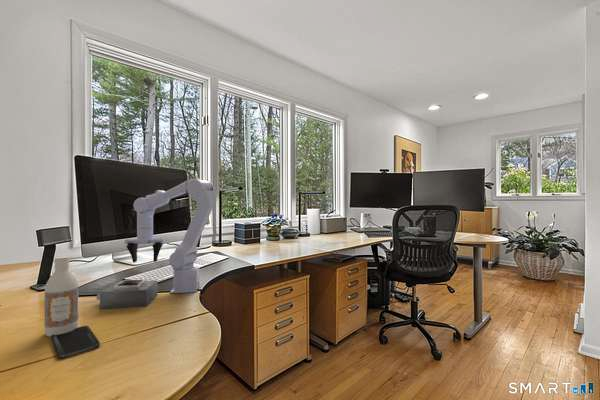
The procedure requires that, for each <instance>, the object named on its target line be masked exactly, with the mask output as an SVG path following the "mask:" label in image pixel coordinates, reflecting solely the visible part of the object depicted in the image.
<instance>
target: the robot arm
mask: <svg viewBox="0 0 600 400" xmlns="http://www.w3.org/2000/svg"><path fill="white" fill-rule="evenodd" d="M214 192H215V188H214V186H213V183H212V182H211V181H210V180H208V179H197V178H191V179H189V180H185V181H183V182H182V183H180V184H177V186H176V185H175V186H174V187H172V188H170V189H168V190H166V191H165V190H164V189H163V190H160V189H157V190H155V193H152V194H147V195H145V197H138V198H137V199H135V200H134V202H133V205H132V206H133V210H134V211H135V212H136V238H125V239H124V245H126V248H127V250H128V252H129V254H130V257H131V260H132V263H137V261H138V247H139V246H138V245H141V244H147V245H148V244H152V249H153V251H152V252H153V259H152V260H153V262H154V263H156V262H158V258H159V255H160V251H161V249H162V247H163V245H164V244H165V243H166V238H165V237H154V215H155V211H156V209H158V208H161V207H163V206H165V205H168V204H169V202H170V200H171V199H174V198H177V197H179V196H183V195H185V194H189V196H190V197H191V198H192V200H194V201H195V204H196V205H197V206H196V209H195V211H194V213H193V217H192V219H191V220H190V223H189V225H188V228H187V230H186V233H185V235H184V237H183V239H182V241H181V243H180V244H178V246H176V248H175V249H174V252H172V253H170V256H169V257H168V261H169V265H170V266H171V267H172V270H173V276H172V277H173V279H172V280H173V285H172V286H173V288H172V289H171V290H170V291H169V293H170V294H184V293H185V294H186V293H187V294H188V293H196V292H197V291H198V290H199V288H200V287H201V286H200V285H201V283H200V282H201V281H200V277H201V276H200V267H199V266H195V262H196V260H197V258H198V257H197V256H198V254H197V253H198V251H199V248H198V247H197V245H198V243H199V241H200V238H201V236H202V234H203V231H204V229H205V226H206V225H207V222H208V219H209V217H210V215H211V213H212V210H213V208H214V205H215V204H214ZM198 287H199V288H198ZM197 289H198V290H197Z"/></svg>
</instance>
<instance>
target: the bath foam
mask: <svg viewBox="0 0 600 400" xmlns="http://www.w3.org/2000/svg"><path fill="white" fill-rule="evenodd" d="M69 268H70V256H67V255H66V256H65V255H63V256H56V257H55V258H54V272H53V273H52V275H50V277H49V279H48V280H47V281H46V284H45V286H44V287H45V288H44V334H45V336H47V337H50V338H51V336H52V335H59V334H64V333H67V332H70V331H72V330H74V329H75V328H78V327H79V282H78V280H77V277H76V276H75V275H74V274H73V273H72V271H71V270H70V269H69Z"/></svg>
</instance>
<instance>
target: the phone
mask: <svg viewBox="0 0 600 400" xmlns="http://www.w3.org/2000/svg"><path fill="white" fill-rule="evenodd" d="M50 341H51V343H52V345H53V349H54V351H55V355H56V357H57V359H58V360H65V359H68V358H72V357H74V356H77V355H80V354H84V353H86V352H90V351H94V350H97V349H98V348H100V346H101V345H100V344H101V343H100V341H99V339H98V338H97V336H96V335H95V334H94V332H93V330H92V329H91V327H90V326H89V325H83V326H78V328H75V329H74V330H72V331H70V332H67V333H64V334H59V335H52V336H51V337H50Z"/></svg>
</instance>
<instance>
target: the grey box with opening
mask: <svg viewBox="0 0 600 400" xmlns="http://www.w3.org/2000/svg"><path fill="white" fill-rule="evenodd" d="M157 297H158V280H155V279H154V280H153V279H152V280H147V279H145V278H144V279H130V280H129V279H123V280H122V281H116V282H113V283H112V284H110V285H109V286H108V287H106V288H104V289H103V290H100V291H99V292H98V293H97V294H96V300H97V301H99V310H109V309H110V310H111V309H124V308H125V309H128V308H146V307H148V306H149V305H150V304H151V303H152V302H153V301H154V300H155V299H156V298H157Z"/></svg>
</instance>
